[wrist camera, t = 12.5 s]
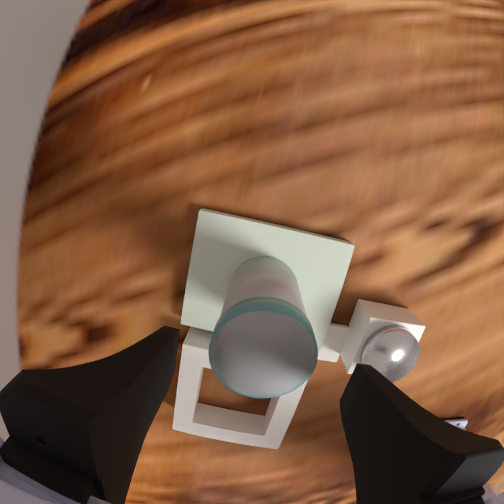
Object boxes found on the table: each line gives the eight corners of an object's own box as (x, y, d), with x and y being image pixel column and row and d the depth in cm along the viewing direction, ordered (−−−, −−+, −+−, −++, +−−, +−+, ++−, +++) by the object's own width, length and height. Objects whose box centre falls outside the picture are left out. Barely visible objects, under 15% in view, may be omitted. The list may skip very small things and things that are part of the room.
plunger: (408, 313, 21) (428, 335, 18) (388, 358, 22) (404, 385, 19) (361, 304, 21) (377, 328, 18) (343, 352, 22) (354, 380, 19)
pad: (350, 241, 21) (354, 245, 20) (317, 345, 23) (319, 352, 22) (202, 208, 20) (199, 210, 19) (183, 317, 22) (180, 323, 21)
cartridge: (307, 263, 20) (332, 320, 12) (289, 327, 21) (300, 404, 14) (235, 247, 20) (218, 297, 12) (222, 312, 21) (201, 386, 13)
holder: (408, 308, 22) (425, 326, 19) (347, 435, 25) (353, 458, 22) (200, 265, 21) (191, 280, 18) (178, 410, 25) (171, 433, 22)
